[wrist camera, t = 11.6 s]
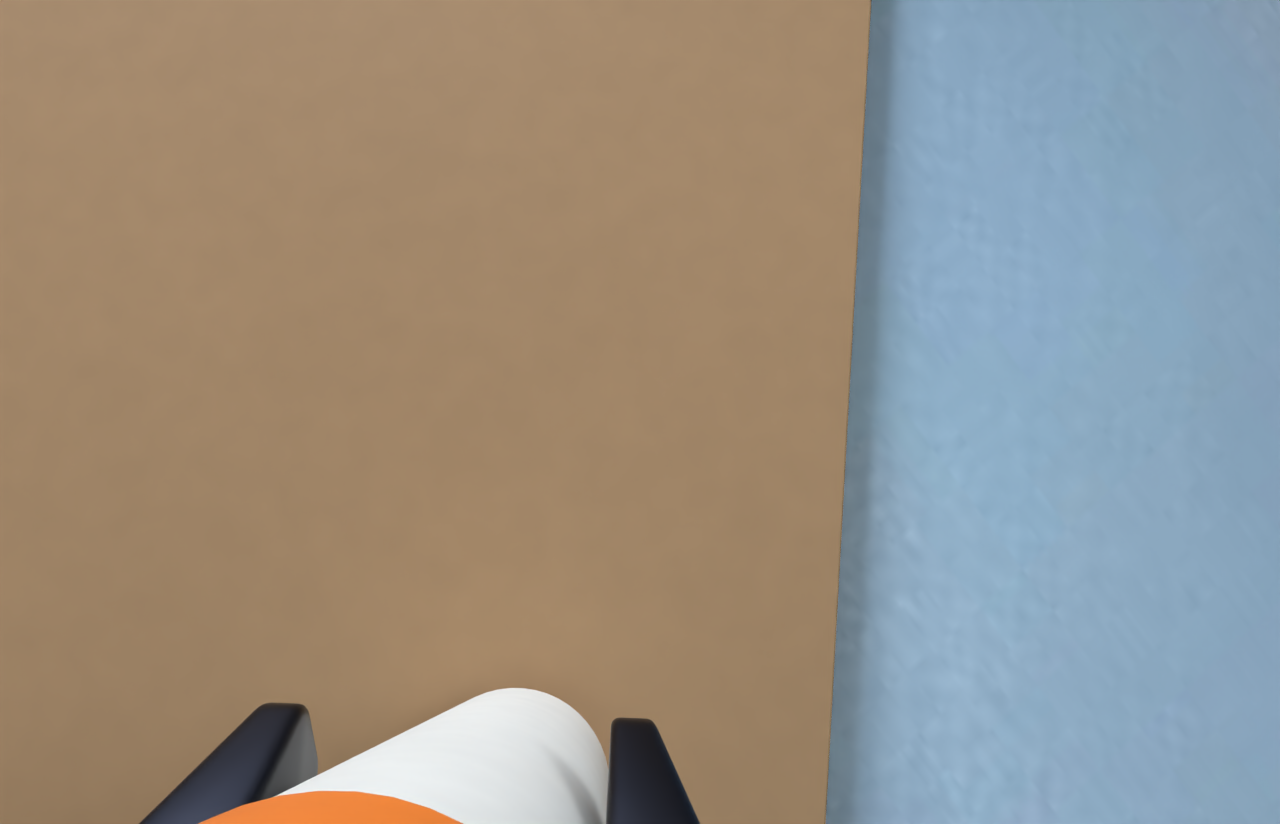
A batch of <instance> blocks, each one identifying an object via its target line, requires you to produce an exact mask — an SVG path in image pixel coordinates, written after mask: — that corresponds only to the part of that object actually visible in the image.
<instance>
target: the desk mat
mask: <svg viewBox="0 0 1280 824" xmlns="http://www.w3.org/2000/svg"><path fill="white" fill-rule="evenodd" d="M870 14H871V0H0V824H139V823H140V822H141V821H142V820H143V819H144V818H145V817H146V816H147V815H148V814H149V813H150V812H151V811H152V810H153V809H154V808H155V807H156V806H157V805H158V804H159V803H160V802H162V801H163V800H164V799H165V798H166V797H167V796H168V795H169V794H170V793H171V792H172V791H173V790H174V789H175V788H176V787H177V786H178V785H179V784H180V783H181V782H182V781H183V780H184V779H185V778H186V777H187V776H188V775H189V774H190V773H191V772H192V771H193V770H194V769H195V768H196V767H197V766H198V765H199V764H200V763H201V762H202V761H203V760H204V759H205V758H206V757H207V756H208V755H209V754H211V753H212V752H213V751H214V750H215V749H216V748H217V747H218V746H219V745H220V744H221V743H222V742H223V741H224V740H225V739H226V738H227V737H228V736H229V735H230V734H231V733H232V732H233V731H234V730H235V729H236V728H237V727H238V726H239V725H240V724H241V723H242V722H243V721H244V720H245V719H246V718H247V717H248V716H249V715H250V714H251V713H252V712H253V711H254V710H255V709H257V708H258V707H259V706H261V705H263V704H265V703H270V702H275V703H298V704H303V705H304V706H305V707H306V708H307V709H308V711H309V715H310V719H311V725H312V730H313V735H314V741H315V746H316V751H317V757H318V774H317V775H319V774H321V773H323V772H325V771H327V770H329V769H331V768H333V767H335V766H337V765H339V764H341V763H343V762H345V761H347V760H349V759H351V758H353V757H355V756H357V755H359V754H361V753H363V752H365V751H367V750H369V749H371V748H373V747H375V746H377V745H379V744H381V743H383V742H385V741H387V740H389V739H391V738H393V737H395V736H397V735H399V734H401V733H403V732H405V731H407V730H409V729H411V728H413V727H415V726H417V725H419V724H421V723H423V722H425V721H427V720H429V719H431V718H433V717H435V716H437V715H439V714H441V713H443V712H445V711H448V710H450V709H452V708H454V707H456V706H458V705H460V704H462V703H464V702H466V701H468V700H470V699H472V698H474V697H476V696H479V695H481V694H484V693H486V692H490V691H494V690H498V689H506V688H526V689H532V690H537V691H540V692H544V693H547V694H549V695H552V696H554V697H556V698H558V699H560V700H562V701H563V702H565V703H566V704H568V705H570V706H571V707H572V708H573V709H574V710H576V711H577V712H578V713H579V714H580V715H581V716H582V717H583V718H584V719H585V720H586V722H587V723H588V724H589V725H590V727H591V728H592V730H593V731H594V733H595V734H596V736H597V738H598V740H599V742H600V744H601V746H602V749H603V752H604V754H605V757H606V761H607V766H608V769H609V750H610V731H611V723H612V721H613V720H614V719H616V718H618V717H624V718H646V719H650V720H652V721H653V722H654V724H655V725H656V727H657V729H658V731H659V733H660V735H661V737H662V740H663V742H664V744H665V746H666V749H667V751H668V753H669V755H670V757H671V760H672V762H673V764H674V766H675V769H676V771H677V773H678V775H679V777H680V780H681V782H682V784H683V786H684V789H685V791H686V793H687V795H688V798H689V800H690V802H691V804H692V806H693V809H694V811H695V813H696V815H697V818H698V820H699V822H700V824H825V823H826V805H827V787H828V769H829V751H830V733H831V715H832V697H833V679H834V661H835V643H836V625H837V607H838V589H839V571H840V553H841V535H842V517H843V499H844V481H845V463H846V445H847V427H848V409H849V391H850V373H851V355H852V337H853V319H854V301H855V283H856V265H857V247H858V229H859V211H860V194H861V176H862V158H863V140H864V122H865V104H866V86H867V68H868V50H869V32H870Z"/></svg>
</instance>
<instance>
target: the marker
mask: <svg viewBox="0 0 1280 824" xmlns="http://www.w3.org/2000/svg"><path fill="white" fill-rule="evenodd" d="M607 789H608V766H607V761H606V757H605V754H604V752H603V749H602V746H601V744H600V742H599V740H598V738H597V736H596V734H595V733H594V731H593V730H592V728H591V727H590V725H589V724H588V723H587V722H586V720H585V719H584V718H583V717H582V716H581V715H580V714H579V713H578V712H577V711H576V710H574V709H573V708H572V707H571V706H570V705H568V704H566V703H565V702H563V701H562V700H560V699H558V698H556V697H554V696H552V695H549V694H547V693H544V692H540V691H537V690H532V689H526V688H506V689H498V690H494V691H490V692H486V693H484V694H481V695H479V696H476V697H474V698H472V699H470V700H468V701H466V702H464V703H462V704H460V705H458V706H456V707H454V708H452V709H450V710H448V711H445V712H443V713H441V714H439V715H437V716H435V717H433V718H431V719H429V720H427V721H425V722H423V723H421V724H419V725H417V726H415V727H413V728H411V729H409V730H407V731H405V732H403V733H401V734H399V735H397V736H395V737H393V738H391V739H389V740H387V741H385V742H383V743H381V744H379V745H377V746H375V747H373V748H371V749H369V750H367V751H365V752H363V753H361V754H359V755H357V756H355V757H353V758H351V759H349V760H347V761H345V762H343V763H341V764H339V765H337V766H335V767H333V768H331V769H329V770H327V771H325V772H323V773H321V774H319V775H317V776H315V777H313V778H311V779H309V780H307V781H305V782H303V783H301V784H299V785H297V786H295V787H293V788H291V789H289V790H287V791H285V792H283V793H281V794H279V795H277V796H274V797H272V798H268V799H265V800H261V801H257V802H253V803H249V804H245V805H242V806H239V807H237V808H234V809H232V810H229V811H227V812H224V813H222V814H219V815H217V816H215V817H212V818H210V819H207V820H205V821H203V822H200V823H198V824H606V810H607Z"/></svg>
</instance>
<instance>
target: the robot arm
mask: <svg viewBox="0 0 1280 824" xmlns="http://www.w3.org/2000/svg"><path fill="white" fill-rule="evenodd" d="M317 774H318V757H317V751H316V746H315V741H314V735H313V730H312V725H311V719H310V715H309V711H308V709H307V708H306V707H305V706H304V705H303V704H298V703H275V702H270V703H265V704H263V705H261V706H259V707H258V708H257V709H255V710H254V711H253V712H252V713H251V714H250V715H249V716H248V717H247V718H246V719H245V720H244V721H243V722H242V723H241V724H240V725H239V726H238V727H237V728H236V729H235V730H234V731H233V732H232V733H231V734H230V735H229V736H228V737H227V738H226V739H225V740H224V741H223V742H222V743H221V744H220V745H219V746H218V747H217V748H216V749H215V750H214V751H213V752H212V753H211V754H209V755H208V756H207V757H206V758H205V759H204V760H203V761H202V762H201V763H200V764H199V765H198V766H197V767H196V768H195V769H194V770H193V771H192V772H191V773H190V774H189V775H188V776H187V777H186V778H185V779H184V780H183V781H182V782H181V783H180V784H179V785H178V786H177V787H176V788H175V789H174V790H173V791H172V792H171V793H170V794H169V795H168V796H167V797H166V798H165V799H164V800H163V801H162V802H160V803H159V804H158V805H157V806H156V807H155V808H154V809H153V810H152V811H151V812H150V813H149V814H148V815H147V816H146V817H145V818H144V819H143V820H142V821H141V822H140V823H139V824H198V823H200V822H203V821H205V820H207V819H210V818H212V817H215V816H217V815H219V814H222V813H224V812H227V811H229V810H232V809H234V808H237V807H239V806H242V805H245V804H249V803H253V802H257V801H261V800H265V799H268V798H272V797H274V796H277V795H279V794H281V793H283V792H285V791H287V790H289V789H291V788H293V787H295V786H297V785H299V784H301V783H303V782H305V781H307V780H309V779H311V778H313V777H315V776H317ZM606 824H700V822H699V820H698V818H697V815H696V813H695V811H694V809H693V806H692V804H691V802H690V800H689V798H688V795H687V793H686V791H685V789H684V786H683V784H682V782H681V780H680V777H679V775H678V773H677V771H676V769H675V766H674V764H673V762H672V760H671V757H670V755H669V753H668V751H667V749H666V746H665V744H664V742H663V740H662V737H661V735H660V733H659V731H658V729H657V727H656V725H655V724H654V722H653V721H652V720H650V719H646V718H624V717H618V718H616V719H614V720H613V721H612V723H611V731H610V750H609V769H608V789H607V810H606Z"/></svg>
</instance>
